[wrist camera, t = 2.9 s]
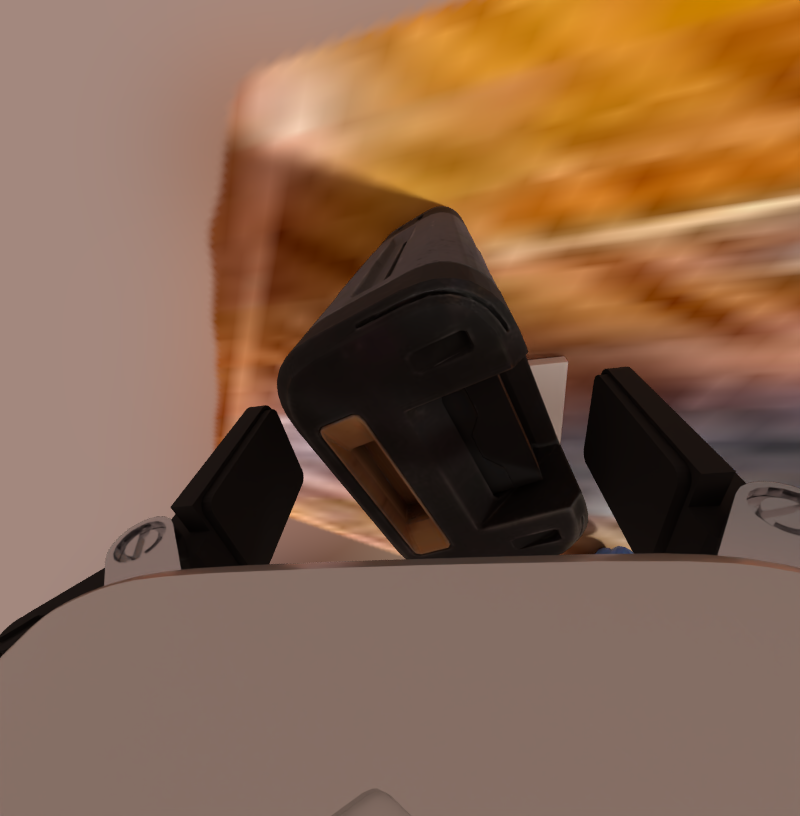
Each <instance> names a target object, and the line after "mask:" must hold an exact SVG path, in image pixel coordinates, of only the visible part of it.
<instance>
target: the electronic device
mask: <svg viewBox="0 0 800 816" xmlns="http://www.w3.org/2000/svg"><path fill="white" fill-rule="evenodd" d="M527 353H528V350H527V347H526V344H525V342H524V340H523V337H522V335H521V332H520V330H519V328H518V326H517V324H516V322H515V320H514V318H513V316H512V314H511V312H510V310H509V308H508V306H507V304H506V302H505V300H504V298H503V296H502V294H501V292H500V291H499V289H498V288H497V286H496V284H495V282H494V280H493V278H492V276H491V275H490V273H489V270H488V268H487V266H486V264H485V261H484V259H483V257H482V255H481V253H480V251H479V250H478V249H477V247H476V245H475V243H474V241H473V239H472V237H471V235H470V233H469V232H468V230H467V227H466V226H465V224H464V222H463V220H462V218H461V217H460V216H459V214H458V213H457V212H456V211H454V210H453V209H451V208H449V207H445V206H439V207H435V208H432V209H430V210H428V211H426V212H424V213H423V214H421V215H419V216H418V217H416V218H414V219H413V220H411V221H409V222H408V223H406V224H404V225H403V226H401V227H399V228H398V229H396V230H395V231H393V232H392V233H391V234H390V235H389V236H388V237H387V238H386V240H385V241H384V242H383V243H382V244H381V245H380V247H379V248H378V249H377V250H376V251H375V252H374V253H373V254H372V255H371V256H370V257H369V259H368V260H367V261H366V262H365V263H364V265H363V266H362V267H361V268H360V269H359V270H358V272H357V273H356V274H355V275H354V276H353V277H352V279H351V280H350V281H349V282H348V283H347V284H346V286H345V287H344V288H343V289H342V290H341V291H340V293H339V294H338V296H337V297H336V298H335V300H334V301H333V302H332V303H331V304H330V306H329V307H328V308H327V309H326V310H325V312H324V313H323V314H322V315H321V316H320V318H319V319H318V320H317V321H316V322H315V323H314V325H313V326H312V327H311V328H310V330H309V331H308V332H307V333H306V334H305V335H304V337H303V338H302V339H301V340H300V341H299V343H298V344H297V345H296V346H295V347H294V348H293V350H292V351H291V352H290V353H289V354H288V356H287V357H286V358H285V360H284V362H283V364H282V365H281V367H280V369H279V374H278V379H277V389H278V396H279V399H280V402H281V405H282V407H283V409H284V411H285V413H286V415H287V416H288V418H289V419H290V421H291V422H292V424H293V425H294V426H295V428H296V429H297V431H298V432H299V433H300V434H301V435H302V437H303V438H304V439H305V440H306V441H307V443H308V444H309V445H310V446H311V447H312V449H313V450H314V451H315V452H316V454H317V455H318V456H319V457H320V458H321V460H322V461H323V462H324V463H325V464H326V466H327V467H328V468H329V469H330V470H331V472H332V473H333V474H334V475H335V476H336V478H337V479H338V480H339V481H340V482H341V484H342V485H343V486H344V487H345V488H346V490H347V491H348V492H349V493H350V494H351V496H352V497H353V498H354V499H355V500H356V502H357V503H358V504H359V505H360V506H361V508H362V509H363V510H364V511H365V512H366V514H367V515H368V516H369V517H370V518H371V520H372V521H373V522H374V523H375V524H376V526H377V527H378V528H379V529H380V530H381V532H382V533H383V534H384V535H385V536H386V538H387V539H388V540H389V541H390V542H391V544H392V545H393V546H394V547H395V548H396V550H397V551H398V552H399V553H400V554H401V555H402V556H403V557H404V558H405V559H435V558H467V557H503V556H539V555H559V554H561V553H563V552H565V551H566V550H567V549H569V548H570V547H571V546H572V545H573V544H574V543H575V542H576V541H577V540H578V539H579V538H580V537H581V536H582V534H583V532H584V530H585V529H586V527H587V523H588V511H587V506H586V503H585V500H584V497H583V495H582V492H581V490H580V488H579V485H578V483H577V481H576V479H575V477H574V474H573V472H572V470H571V468H570V465H569V463H568V461H567V459H566V456H565V454H564V452H563V450H562V447H561V445H560V443H559V440H558V438H557V435H556V433H555V430H554V428H553V425H552V422H551V420H550V417H549V415H548V412H547V409H546V407H545V404H544V402H543V399H542V396H541V394H540V391H539V389H538V386H537V383H536V381H535V378H534V376H533V373H532V370H531V368H530V365H529V363H528V360H527V358H526V354H527Z"/></svg>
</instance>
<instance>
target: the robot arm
mask: <svg viewBox="0 0 800 816" xmlns="http://www.w3.org/2000/svg"><path fill="white" fill-rule="evenodd" d="M584 459H585V462H586V464H587V466H588V468H589V470H590V472H591V474H592V476H593V478H594V479H595V481H596V483H597V485H598V487H599V489H600V491H601V493H602V495H603V496H604V498H605V500H606V502H607V504H608V506H609V508H610V510H611V511H612V513H613V515H614V517H615V519H616V521H617V523H618V525H619V527H620V528H621V530H622V532H623V534H624V536H625V538H626V540H627V542H628V544H629V545H630V547H631V549H632V551H633V553H634V554H575V555H539V556H503V557H467V558H435V559H404V560H378V561H377V560H375V561H347V562H346V561H345V562H320V563H293V564H269V563H270V561H271V559H272V556H273V554H274V551H275V549H276V546H277V544H278V541H279V539H280V537H281V534H282V532H283V530H284V527H285V525H286V522H287V520H288V517H289V515H290V513H291V510H292V508H293V505H294V503H295V501H296V498H297V496H298V493H299V491H300V488H301V486H302V484H303V471H302V469H301V467H300V464H299V462H298V460H297V457H296V455H295V453H294V450H293V448H292V446H291V444H290V441H289V439H288V437H287V434H286V432H285V430H284V427H283V425H282V423H281V420H280V418H279V416H278V414H277V412H276V411H275V410H274V409H271V408H270V407H269V406H267V405H266V406H257V407H249V408H248V409H246V411H245V412H244V413H243V415H242V416H241V417H240V418H239V420H238V421H237V422H236V424H235V425H234V426H233V427H232V429H231V430H230V431H229V433H228V434H227V435H226V436H225V438H224V439H223V440H222V442H221V443H220V444H219V445H218V447H217V448H216V449H215V451H214V452H213V453H212V454H211V456H210V457H209V458H208V460H207V461H206V462H205V464H204V465H203V466H202V467H201V469H200V470H199V471H198V473H197V474H196V475H195V476H194V478H193V479H192V480H191V481H190V483H189V484H188V485H187V487H186V488H185V489H184V490H183V492H182V493H181V494H180V496H179V497H178V498H177V499H176V501H175V502H174V503H173V505H172V506H171V508H172V510H173V511H174V512H175V516H174V517H173V518H172V520H171V519H170V518H167V517H165V516H161V517H160V516H157V517H153V518H149V519H147V520H144V521H142V522H140V523H138V524H136V525H134V526H133V527H131V528H129V529H128V530H127V531H126V532H125V533H124V534H122V535H121V536H120V537H119V538H118V539H117V540H116V541H115V542H114V543H113V545H112V546H111V547H110V549H109V551H108V553H107V556H106V561H105V568H104V569H102V570H100V571H99V572H97V573H95V574H94V575H92V576H90V577H88V578H87V579H85V580H83V581H82V582H80V583H78V584H77V585H75V586H73V587H71V588H70V589H68V590H66V591H65V592H63V593H61V594H60V595H58V596H57V597H55V598H53V599H51V600H49V601H48V602H46V603H45V604H43V605H41V606H39V607H38V608H36V609H34V610H33V611H31V612H29V613H28V614H26V615H25V616H23V617H21V618H19V619H18V620H16V621H15V622H13V623H12V624H11V625H9V627H7V628H6V629H5V630H4V631H3V632H2V634H1V635H0V816H800V488H797V487H794V486H791V485H786V484H782V483H778V482H766V481H758V482H750V483H747V484H746V483H745V482H744V481H743V480H742V479H741V478H740V477H739V476H738V475H737V474H736V471H735V470H734V469H733V468H732V467H731V466H730V465H729V464H728V463H727V462H726V461H725V460H724V459H723V458H722V457H721V456H720V455H718V454H717V453H716V452H715V451H714V450H713V449H712V448H711V447H710V446H709V445H708V444H707V443H706V442H705V441H704V440H703V439H702V438H701V437H700V436H699V435H698V434H697V433H696V432H695V431H694V430H693V429H692V428H691V427H690V426H689V425H688V424H687V423H686V422H685V421H684V420H683V419H682V418H681V417H680V416H679V415H678V414H677V413H676V412H675V411H674V410H673V409H672V408H671V407H670V406H669V405H668V404H667V403H666V402H665V401H664V400H663V399H662V398H661V397H660V396H659V395H658V394H657V393H656V392H655V391H654V390H653V389H651V388H650V387H649V386H648V385H647V384H646V383H645V382H644V381H643V380H642V379H641V378H640V377H639V376H638V375H637V374H636V373H635V372H634V371H633V370H632V369H631V368H630V367H619V368H610V369H604V370H603V371H602V373H601V375H597V376H596V377H595V379H594V385H593V392H592V398H591V405H590V412H589V419H588V425H587V432H586V439H585V446H584Z"/></svg>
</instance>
